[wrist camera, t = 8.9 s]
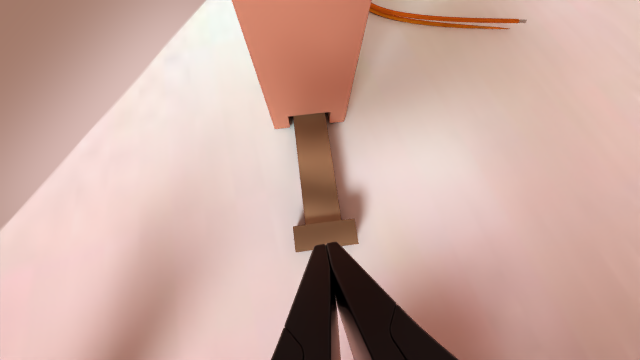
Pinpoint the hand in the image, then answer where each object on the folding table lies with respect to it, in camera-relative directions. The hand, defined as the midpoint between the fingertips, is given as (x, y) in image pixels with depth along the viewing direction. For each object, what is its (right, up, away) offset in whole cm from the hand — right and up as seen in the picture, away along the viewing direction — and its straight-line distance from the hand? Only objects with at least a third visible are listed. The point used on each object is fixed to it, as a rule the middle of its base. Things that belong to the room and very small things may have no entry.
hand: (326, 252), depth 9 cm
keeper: (-2, +11, +17) cm, 20 cm away
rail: (-1, +6, +15) cm, 16 cm away
